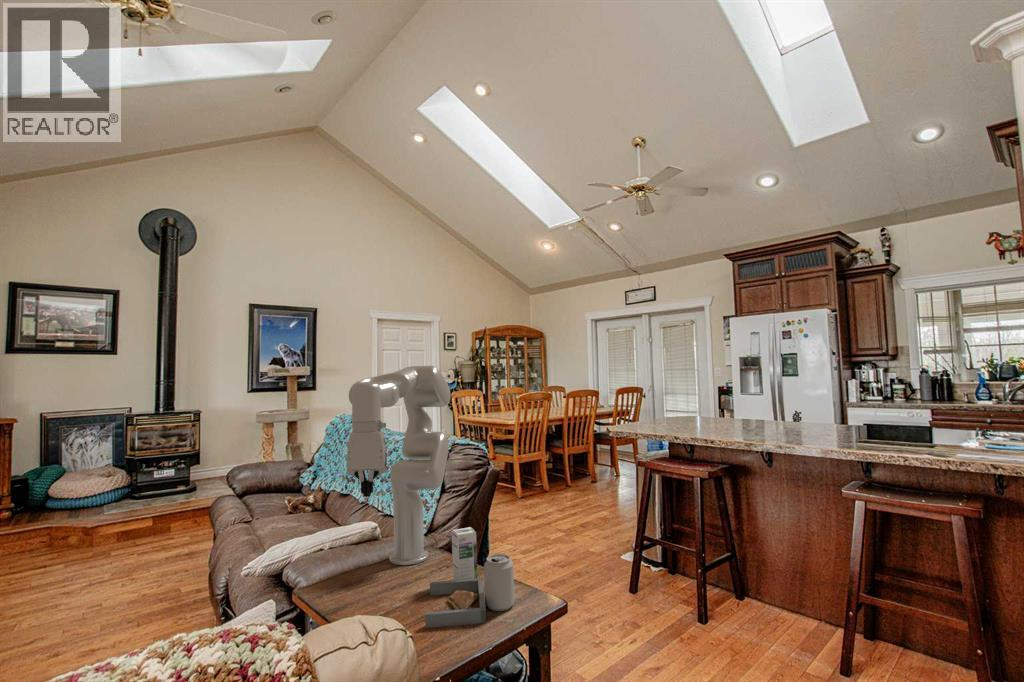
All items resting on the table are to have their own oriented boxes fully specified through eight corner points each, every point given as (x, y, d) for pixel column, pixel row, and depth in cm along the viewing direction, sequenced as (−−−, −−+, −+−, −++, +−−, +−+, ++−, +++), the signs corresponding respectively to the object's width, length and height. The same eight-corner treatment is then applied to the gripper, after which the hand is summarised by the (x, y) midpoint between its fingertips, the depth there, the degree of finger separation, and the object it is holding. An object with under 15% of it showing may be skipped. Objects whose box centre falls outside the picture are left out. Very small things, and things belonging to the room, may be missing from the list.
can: (481, 602, 125) (479, 555, 126) (507, 596, 128) (506, 550, 129) (491, 615, 118) (489, 564, 119) (519, 608, 121) (517, 559, 122)
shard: (462, 619, 118) (462, 611, 118) (434, 614, 121) (434, 607, 121) (480, 599, 128) (479, 592, 128) (454, 595, 131) (454, 589, 131)
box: (430, 593, 131) (430, 582, 132) (482, 589, 133) (482, 578, 133) (425, 628, 113) (425, 614, 113) (486, 622, 115) (485, 609, 115)
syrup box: (458, 588, 134) (457, 534, 136) (452, 580, 140) (451, 528, 141) (477, 584, 137) (476, 531, 138) (471, 576, 142) (470, 525, 143)
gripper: (396, 425, 137) (396, 491, 136) (341, 427, 136) (342, 494, 134) (392, 427, 130) (393, 497, 129) (335, 430, 128) (335, 500, 127)
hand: (367, 495), depth 132 cm, fingers closed
